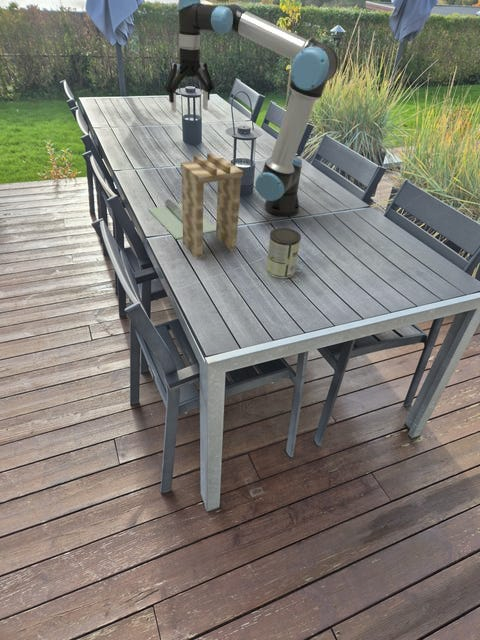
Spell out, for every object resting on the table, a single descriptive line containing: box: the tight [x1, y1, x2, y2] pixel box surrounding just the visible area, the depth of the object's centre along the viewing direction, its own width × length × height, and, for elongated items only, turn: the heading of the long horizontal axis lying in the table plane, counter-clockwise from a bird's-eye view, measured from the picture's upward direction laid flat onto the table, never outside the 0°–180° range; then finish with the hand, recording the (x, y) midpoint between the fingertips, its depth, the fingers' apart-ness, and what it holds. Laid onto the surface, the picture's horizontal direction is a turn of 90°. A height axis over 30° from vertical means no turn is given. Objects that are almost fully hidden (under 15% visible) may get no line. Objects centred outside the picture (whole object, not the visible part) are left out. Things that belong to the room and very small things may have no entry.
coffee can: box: [265, 227, 302, 279], centre depth 150 cm, size 10×10×14 cm
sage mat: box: [148, 202, 216, 240], centre depth 179 cm, size 28×18×1 cm, turn 31°
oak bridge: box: [180, 152, 244, 260], centre depth 153 cm, size 14×16×32 cm
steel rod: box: [164, 198, 183, 221], centre depth 179 cm, size 24×3×3 cm, turn 31°
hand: (189, 110), depth 173 cm, fingers open, 13 cm apart
